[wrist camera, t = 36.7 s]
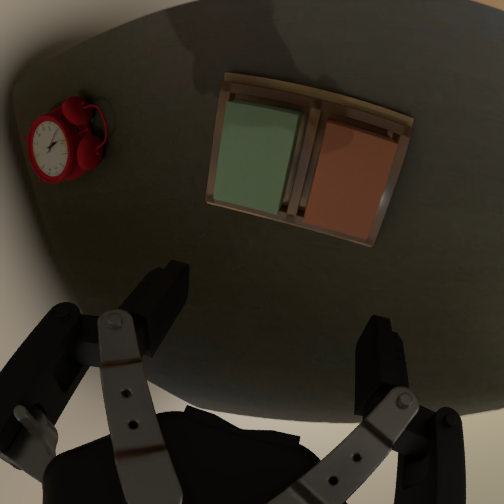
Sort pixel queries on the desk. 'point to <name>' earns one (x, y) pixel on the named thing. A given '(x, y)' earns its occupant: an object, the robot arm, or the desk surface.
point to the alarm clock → (65, 142)
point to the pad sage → (256, 154)
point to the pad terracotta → (349, 178)
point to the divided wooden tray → (310, 142)
